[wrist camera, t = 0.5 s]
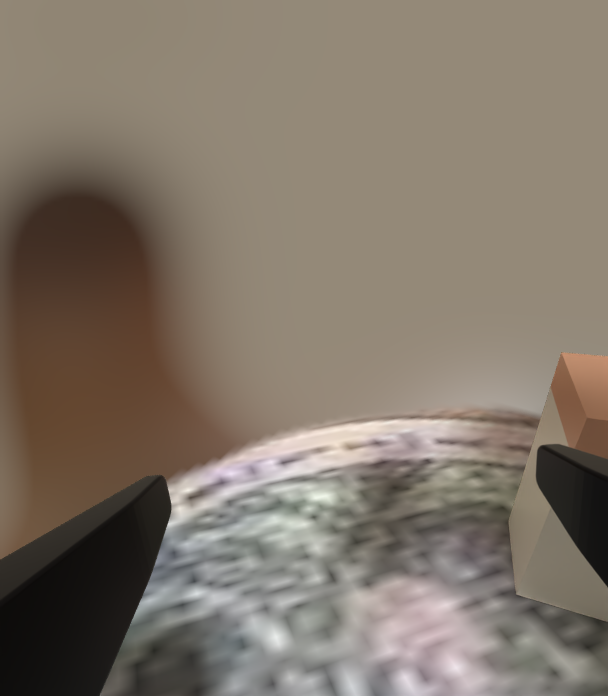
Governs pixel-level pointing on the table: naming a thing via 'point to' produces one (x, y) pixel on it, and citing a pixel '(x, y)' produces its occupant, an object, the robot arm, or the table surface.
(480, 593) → the table surface
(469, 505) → the table surface
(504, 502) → the table surface
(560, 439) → the plug
